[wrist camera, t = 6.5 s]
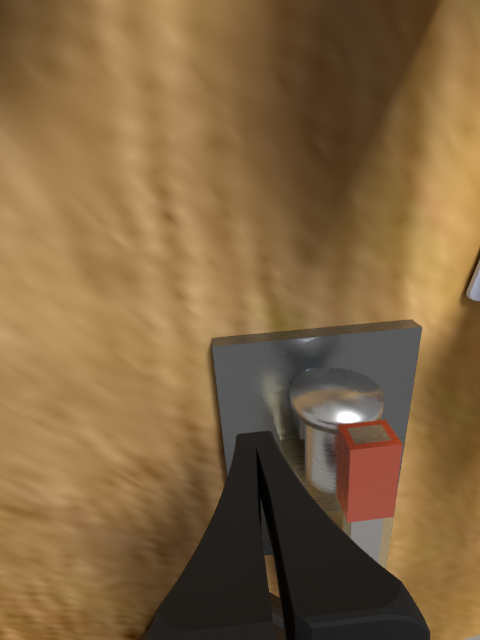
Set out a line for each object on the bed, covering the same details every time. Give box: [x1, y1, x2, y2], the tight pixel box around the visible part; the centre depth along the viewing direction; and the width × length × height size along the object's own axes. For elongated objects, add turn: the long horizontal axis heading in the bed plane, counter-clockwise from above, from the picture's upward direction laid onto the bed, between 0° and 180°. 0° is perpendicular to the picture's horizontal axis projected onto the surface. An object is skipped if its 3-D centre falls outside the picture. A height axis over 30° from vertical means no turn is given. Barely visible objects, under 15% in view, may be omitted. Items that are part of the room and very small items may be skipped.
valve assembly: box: [212, 320, 422, 568], centre depth 21 cm, size 20×13×8 cm, turn 4°
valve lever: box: [336, 420, 403, 563], centre depth 15 cm, size 11×2×1 cm, turn 5°
